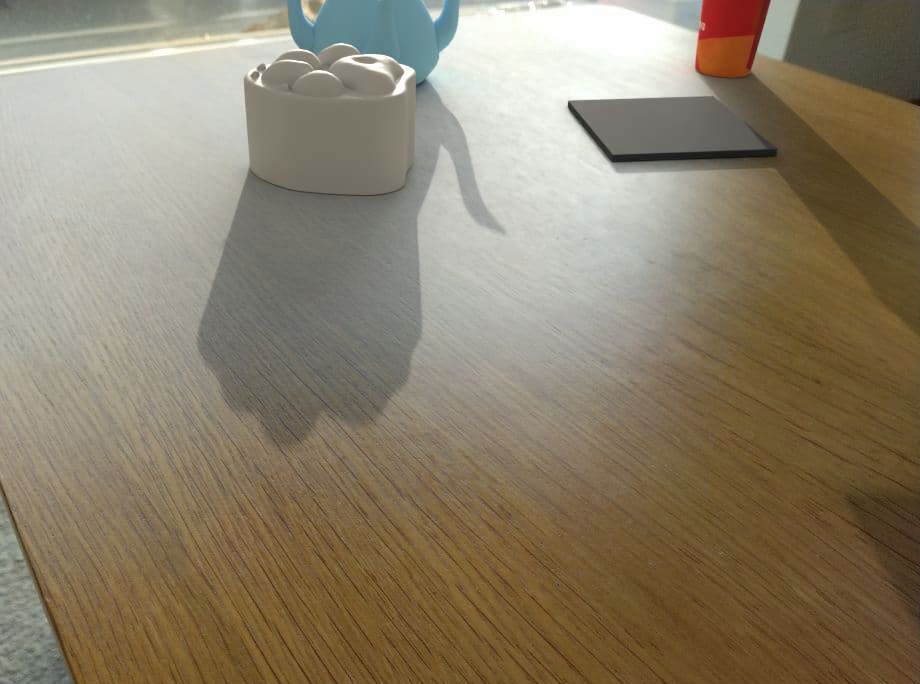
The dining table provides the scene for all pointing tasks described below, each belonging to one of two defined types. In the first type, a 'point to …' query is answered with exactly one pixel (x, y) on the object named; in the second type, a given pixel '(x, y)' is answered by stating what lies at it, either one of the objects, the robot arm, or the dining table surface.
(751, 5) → the paper cup
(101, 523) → the dining table surface
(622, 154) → the mat
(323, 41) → the teapot
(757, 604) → the dining table surface
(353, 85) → the lumpy-topped squat cylinder
